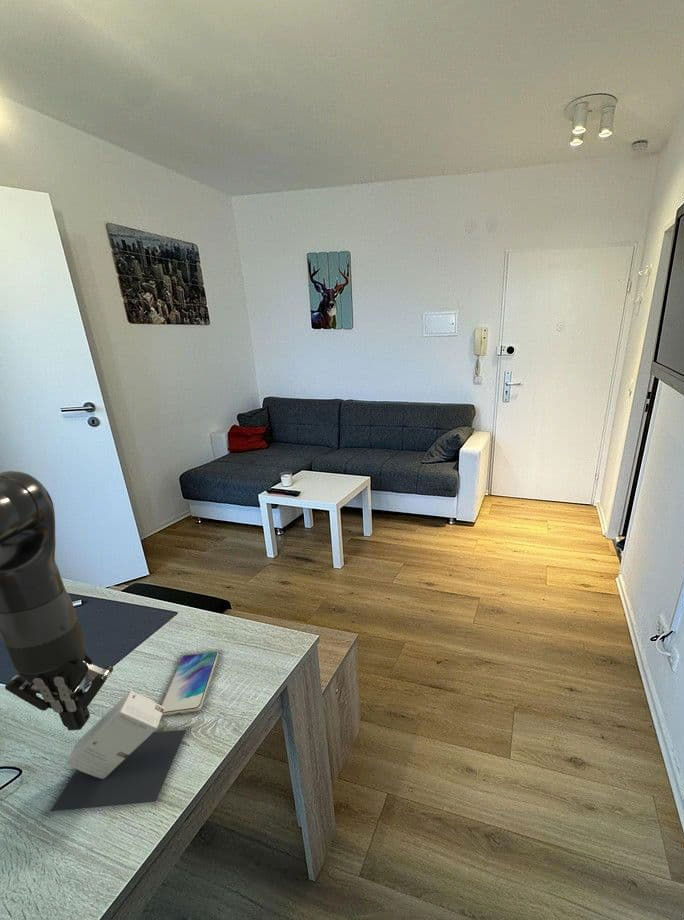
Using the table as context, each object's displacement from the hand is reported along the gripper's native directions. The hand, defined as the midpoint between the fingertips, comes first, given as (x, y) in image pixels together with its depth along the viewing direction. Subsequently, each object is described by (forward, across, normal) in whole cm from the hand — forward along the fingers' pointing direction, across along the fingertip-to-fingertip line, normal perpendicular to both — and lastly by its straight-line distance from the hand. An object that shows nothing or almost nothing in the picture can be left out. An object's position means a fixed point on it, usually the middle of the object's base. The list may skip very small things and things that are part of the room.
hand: (78, 725), depth 62 cm
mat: (+10, -4, 0) cm, 11 cm away
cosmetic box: (+7, 0, 0) cm, 7 cm away
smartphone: (+10, -8, -17) cm, 21 cm away
